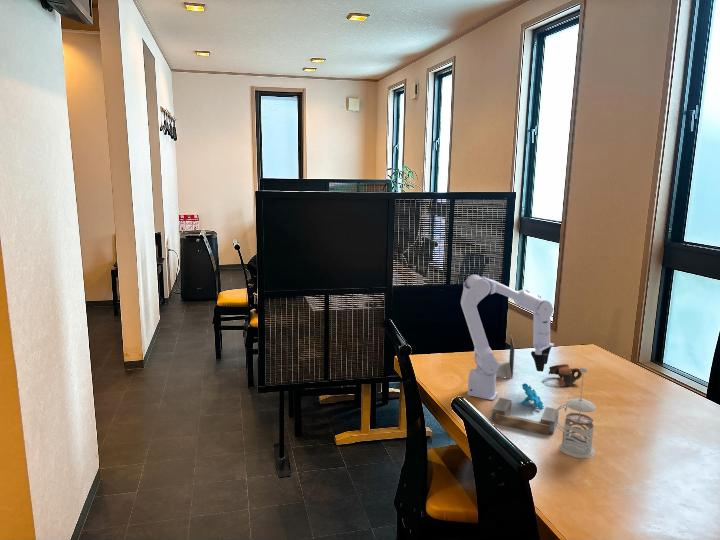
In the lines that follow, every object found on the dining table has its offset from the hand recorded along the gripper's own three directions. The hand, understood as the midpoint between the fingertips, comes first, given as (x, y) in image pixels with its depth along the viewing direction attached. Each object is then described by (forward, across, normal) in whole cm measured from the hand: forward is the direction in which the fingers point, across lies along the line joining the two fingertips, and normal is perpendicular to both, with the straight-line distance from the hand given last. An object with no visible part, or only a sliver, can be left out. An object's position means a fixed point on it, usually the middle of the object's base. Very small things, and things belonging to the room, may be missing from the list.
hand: (541, 367), depth 190 cm
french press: (+10, -38, -15) cm, 42 cm away
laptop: (+10, +16, +21) cm, 28 cm away
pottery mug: (+11, +15, -6) cm, 20 cm away
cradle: (+9, -27, +1) cm, 28 cm away
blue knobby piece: (+10, -13, +1) cm, 16 cm away
